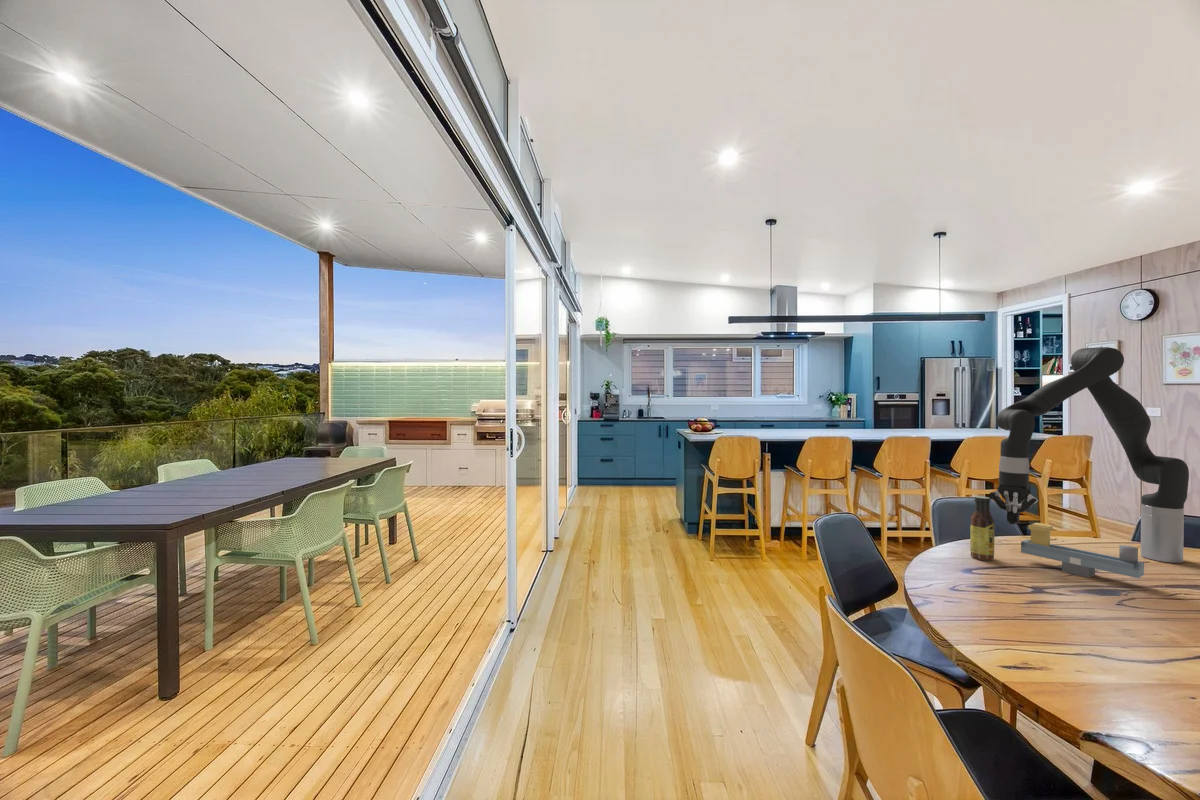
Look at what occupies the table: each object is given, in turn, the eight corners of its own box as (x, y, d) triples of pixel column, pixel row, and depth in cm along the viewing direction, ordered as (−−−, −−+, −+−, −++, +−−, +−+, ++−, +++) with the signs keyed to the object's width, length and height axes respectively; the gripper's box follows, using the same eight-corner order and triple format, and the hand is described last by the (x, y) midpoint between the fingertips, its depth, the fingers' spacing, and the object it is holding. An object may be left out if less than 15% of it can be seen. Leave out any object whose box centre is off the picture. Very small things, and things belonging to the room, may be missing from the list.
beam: (1020, 561, 159) (1021, 529, 159) (1027, 559, 162) (1027, 526, 161) (1138, 589, 137) (1138, 551, 136) (1143, 585, 139) (1144, 548, 139)
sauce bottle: (994, 562, 158) (995, 500, 158) (969, 558, 162) (970, 497, 162) (994, 557, 163) (994, 496, 163) (970, 553, 167) (970, 494, 167)
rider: (1027, 548, 157) (1028, 525, 157) (1036, 544, 160) (1036, 522, 160) (1044, 551, 153) (1044, 528, 153) (1052, 548, 157) (1052, 525, 157)
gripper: (1044, 472, 159) (1043, 527, 159) (994, 467, 170) (993, 518, 170) (1034, 474, 155) (1033, 530, 155) (984, 468, 166) (983, 520, 166)
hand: (1012, 523), depth 163 cm, fingers closed
